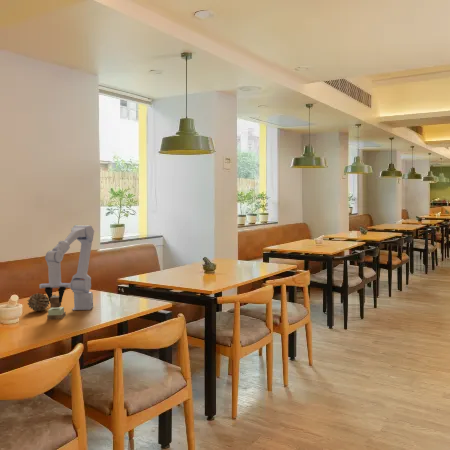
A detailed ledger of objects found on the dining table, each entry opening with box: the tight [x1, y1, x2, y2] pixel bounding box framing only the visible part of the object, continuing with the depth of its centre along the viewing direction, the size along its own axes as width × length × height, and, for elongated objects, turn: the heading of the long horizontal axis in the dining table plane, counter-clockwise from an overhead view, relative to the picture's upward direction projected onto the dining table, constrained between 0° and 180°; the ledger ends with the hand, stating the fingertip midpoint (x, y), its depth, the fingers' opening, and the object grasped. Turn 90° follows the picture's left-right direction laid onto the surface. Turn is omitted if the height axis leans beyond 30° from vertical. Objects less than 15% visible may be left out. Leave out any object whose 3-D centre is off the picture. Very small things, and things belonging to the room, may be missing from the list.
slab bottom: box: [46, 311, 67, 321], centre depth 238 cm, size 7×7×2 cm
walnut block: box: [49, 295, 62, 308], centre depth 237 cm, size 4×4×5 cm
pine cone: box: [26, 292, 57, 312], centre depth 255 cm, size 22×10×10 cm, turn 172°
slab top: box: [47, 306, 65, 315], centre depth 238 cm, size 6×6×2 cm
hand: (55, 302), depth 237 cm, fingers closed on walnut block, 4 cm apart
